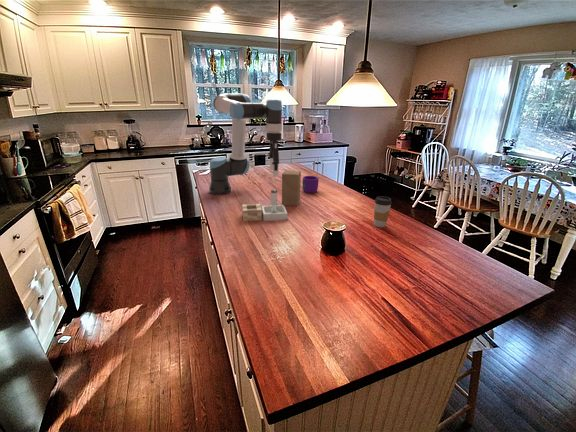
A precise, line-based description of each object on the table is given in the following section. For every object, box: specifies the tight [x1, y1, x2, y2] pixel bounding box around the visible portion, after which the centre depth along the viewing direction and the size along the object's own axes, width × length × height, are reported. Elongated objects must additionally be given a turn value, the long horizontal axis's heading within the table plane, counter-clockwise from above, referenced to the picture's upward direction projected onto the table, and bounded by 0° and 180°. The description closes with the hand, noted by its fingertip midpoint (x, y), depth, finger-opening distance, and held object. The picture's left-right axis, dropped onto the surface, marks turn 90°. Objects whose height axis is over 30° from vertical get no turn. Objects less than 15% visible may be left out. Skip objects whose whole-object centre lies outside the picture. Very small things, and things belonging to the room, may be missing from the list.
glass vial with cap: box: [270, 189, 278, 213], centre depth 162 cm, size 4×4×14 cm
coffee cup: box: [373, 195, 392, 228], centre depth 152 cm, size 8×8×15 cm
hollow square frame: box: [241, 203, 263, 222], centre depth 161 cm, size 10×10×6 cm
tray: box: [261, 204, 288, 222], centre depth 164 cm, size 13×13×4 cm
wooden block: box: [281, 169, 302, 207], centre depth 181 cm, size 10×10×20 cm
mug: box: [302, 175, 320, 194], centre depth 210 cm, size 17×11×10 cm, turn 17°
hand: (273, 173), depth 155 cm, fingers open, 13 cm apart
